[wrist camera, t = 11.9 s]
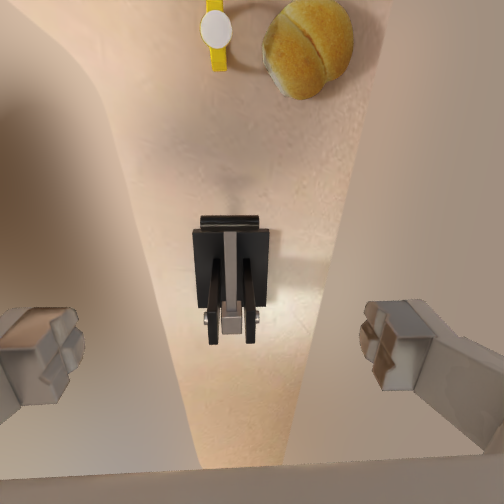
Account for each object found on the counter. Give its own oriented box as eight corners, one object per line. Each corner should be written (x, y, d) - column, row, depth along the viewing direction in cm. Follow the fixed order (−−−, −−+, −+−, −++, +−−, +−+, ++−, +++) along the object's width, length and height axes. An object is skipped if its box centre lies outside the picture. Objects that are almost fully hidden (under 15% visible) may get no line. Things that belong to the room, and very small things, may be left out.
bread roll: (360, 57, 33) (376, 53, 29) (290, 111, 35) (297, 113, 31) (322, -25, 30) (335, -41, 26) (247, 40, 32) (250, 33, 28)
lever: (201, 209, 27) (199, 223, 25) (257, 209, 28) (259, 223, 26) (210, 318, 36) (209, 335, 34) (253, 317, 36) (254, 334, 34)
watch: (201, 2, 30) (195, -18, 25) (230, 1, 30) (229, -19, 25) (207, 73, 33) (203, 68, 27) (233, 72, 33) (234, 67, 28)
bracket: (193, 229, 41) (178, 280, 29) (268, 228, 41) (282, 278, 30) (198, 303, 46) (188, 371, 35) (265, 301, 47) (276, 368, 35)
